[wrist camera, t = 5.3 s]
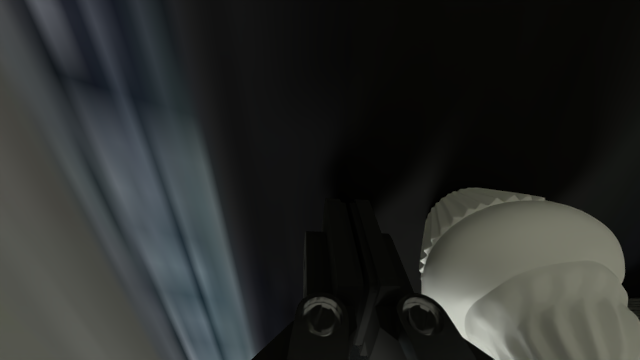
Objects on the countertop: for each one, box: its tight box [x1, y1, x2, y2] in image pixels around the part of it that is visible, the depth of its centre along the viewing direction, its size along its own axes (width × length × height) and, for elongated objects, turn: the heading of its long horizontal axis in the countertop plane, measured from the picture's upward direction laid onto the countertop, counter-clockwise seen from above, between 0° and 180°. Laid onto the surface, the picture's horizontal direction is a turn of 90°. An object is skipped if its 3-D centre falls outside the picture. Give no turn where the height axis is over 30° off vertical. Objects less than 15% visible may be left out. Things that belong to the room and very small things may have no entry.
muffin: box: [419, 187, 640, 360], centre depth 9 cm, size 6×6×7 cm
